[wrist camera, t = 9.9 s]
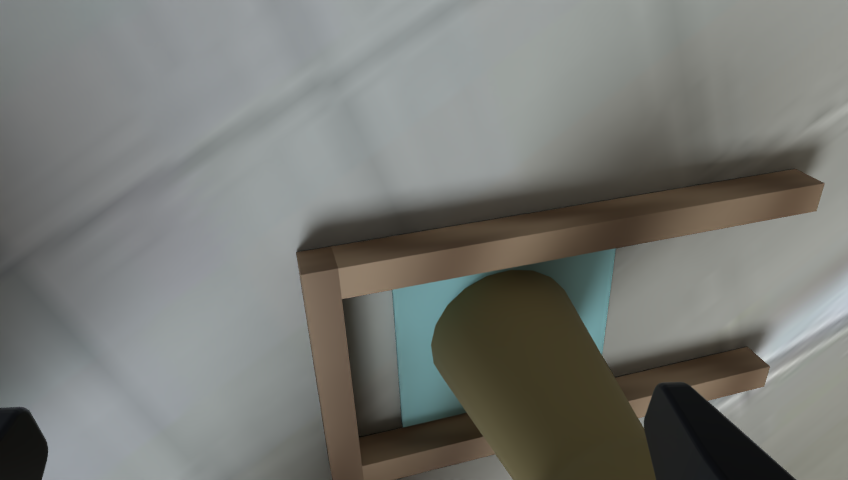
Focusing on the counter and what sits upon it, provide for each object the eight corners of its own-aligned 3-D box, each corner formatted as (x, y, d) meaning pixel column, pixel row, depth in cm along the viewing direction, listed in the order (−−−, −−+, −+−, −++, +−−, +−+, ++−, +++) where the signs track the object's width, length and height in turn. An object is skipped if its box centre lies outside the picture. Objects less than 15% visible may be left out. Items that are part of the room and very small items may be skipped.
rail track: (329, 465, 27) (335, 494, 26) (296, 252, 22) (301, 275, 20) (742, 366, 31) (764, 386, 30) (795, 168, 26) (824, 183, 25)
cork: (410, 386, 26) (518, 669, 16) (463, 257, 23) (623, 501, 14) (536, 398, 28) (693, 652, 19) (595, 282, 26) (807, 505, 16)
